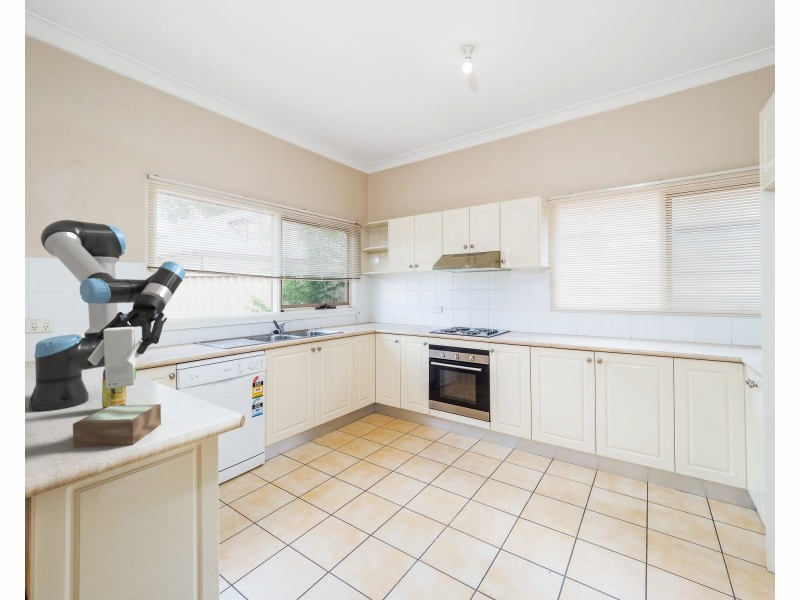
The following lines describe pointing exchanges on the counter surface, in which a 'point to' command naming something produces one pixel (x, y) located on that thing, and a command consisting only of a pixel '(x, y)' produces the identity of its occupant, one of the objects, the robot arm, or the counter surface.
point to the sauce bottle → (112, 395)
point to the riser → (116, 425)
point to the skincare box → (118, 357)
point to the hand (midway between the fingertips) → (110, 362)
